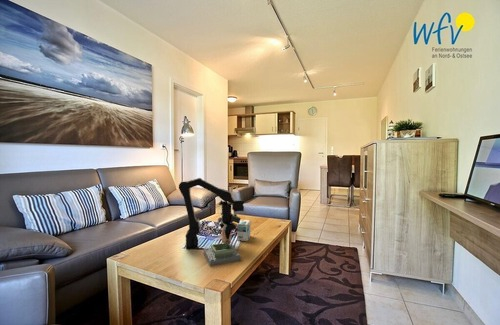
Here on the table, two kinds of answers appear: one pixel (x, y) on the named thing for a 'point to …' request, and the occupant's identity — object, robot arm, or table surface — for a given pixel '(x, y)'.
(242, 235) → the light bulb box
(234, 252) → the gearbox housing
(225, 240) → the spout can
